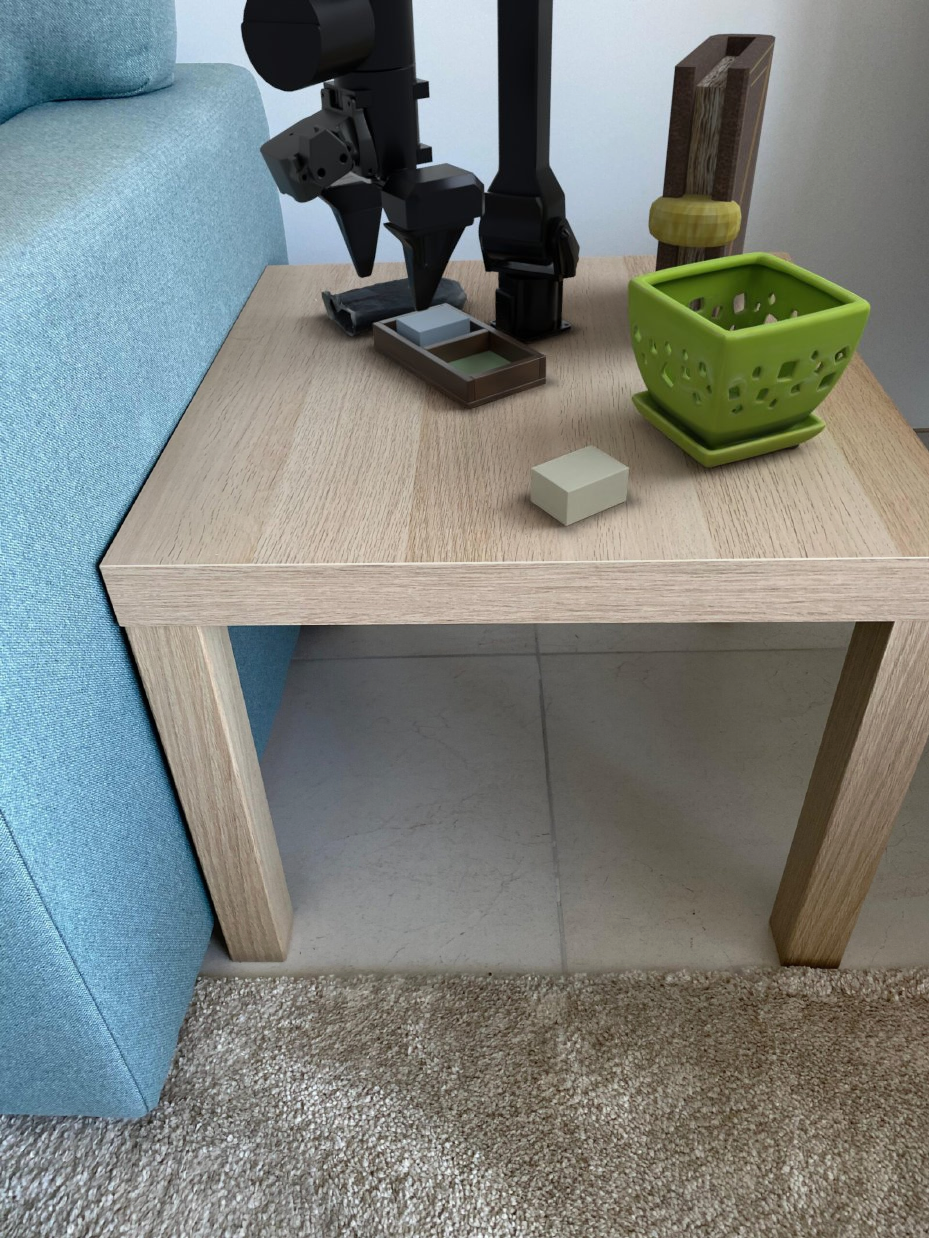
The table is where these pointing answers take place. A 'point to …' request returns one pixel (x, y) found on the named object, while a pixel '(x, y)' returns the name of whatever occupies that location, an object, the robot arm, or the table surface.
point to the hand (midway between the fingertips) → (392, 292)
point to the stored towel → (433, 326)
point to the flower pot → (740, 353)
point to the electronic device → (383, 303)
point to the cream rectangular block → (579, 484)
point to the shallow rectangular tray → (466, 361)
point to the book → (712, 151)
